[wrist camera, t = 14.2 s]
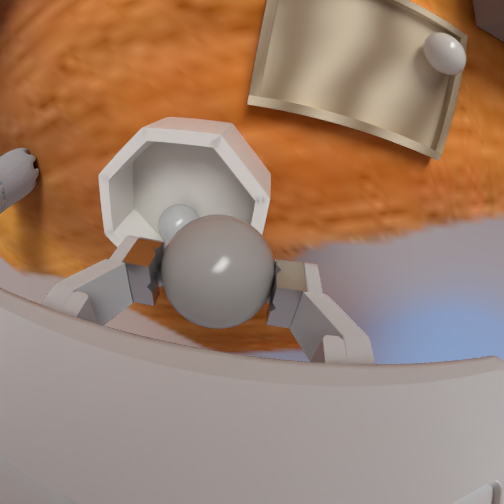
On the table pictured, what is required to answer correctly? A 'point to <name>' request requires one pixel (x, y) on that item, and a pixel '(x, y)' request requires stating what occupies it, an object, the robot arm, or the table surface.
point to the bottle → (16, 176)
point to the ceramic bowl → (182, 177)
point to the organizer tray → (490, 16)
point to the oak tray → (357, 68)
